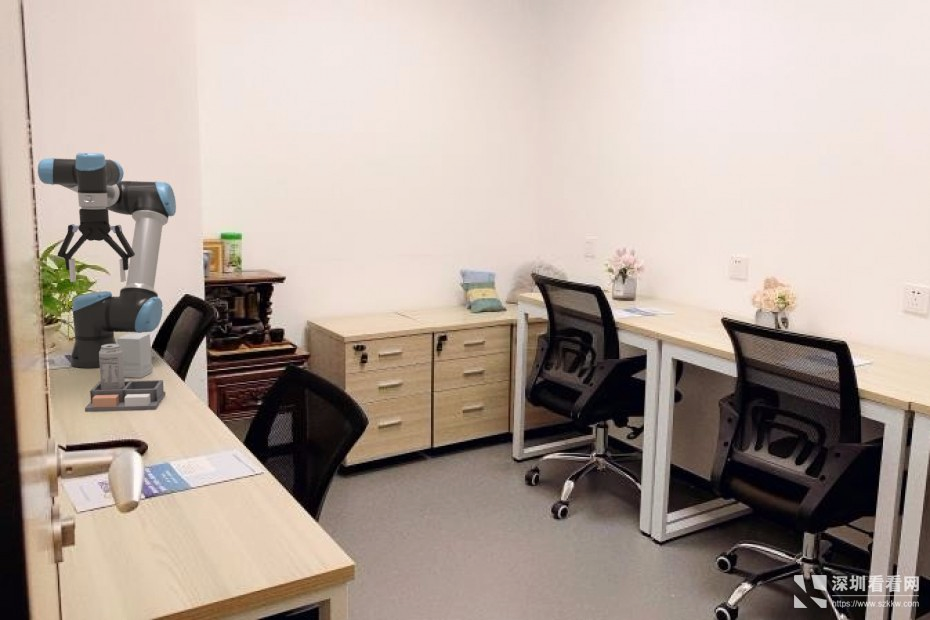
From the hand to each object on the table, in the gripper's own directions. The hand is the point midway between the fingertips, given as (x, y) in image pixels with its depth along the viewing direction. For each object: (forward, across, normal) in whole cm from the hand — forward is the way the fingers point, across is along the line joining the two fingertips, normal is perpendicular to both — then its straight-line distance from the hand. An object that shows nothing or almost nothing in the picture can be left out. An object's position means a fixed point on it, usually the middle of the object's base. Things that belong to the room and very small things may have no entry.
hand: (98, 281), depth 223 cm
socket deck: (+32, +10, -17) cm, 37 cm away
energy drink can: (+31, +6, -15) cm, 35 cm away
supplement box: (+32, +6, +12) cm, 35 cm away
